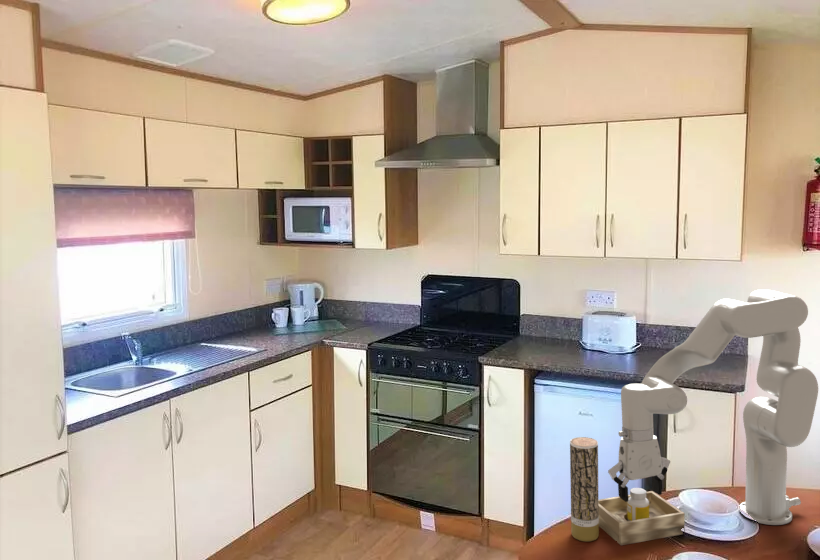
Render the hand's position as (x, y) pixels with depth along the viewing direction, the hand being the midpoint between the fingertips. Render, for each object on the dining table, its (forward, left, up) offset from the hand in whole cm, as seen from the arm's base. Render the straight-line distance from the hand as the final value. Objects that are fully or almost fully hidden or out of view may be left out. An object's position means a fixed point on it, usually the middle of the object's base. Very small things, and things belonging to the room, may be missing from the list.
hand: (640, 496), depth 178 cm
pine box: (+1, 0, -8) cm, 8 cm away
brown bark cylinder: (+16, 0, -9) cm, 18 cm away
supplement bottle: (+1, 0, -9) cm, 9 cm away
